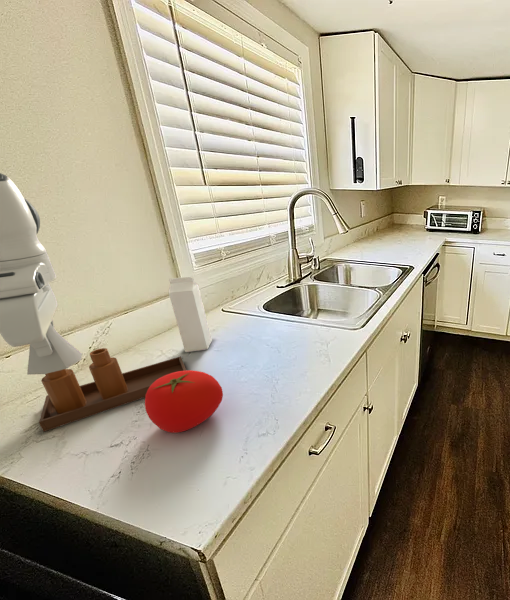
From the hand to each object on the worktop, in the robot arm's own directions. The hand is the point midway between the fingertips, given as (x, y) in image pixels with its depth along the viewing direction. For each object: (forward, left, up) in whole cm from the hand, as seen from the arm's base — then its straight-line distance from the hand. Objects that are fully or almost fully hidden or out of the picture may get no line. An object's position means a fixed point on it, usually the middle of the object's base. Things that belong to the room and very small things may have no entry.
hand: (48, 347), depth 58 cm
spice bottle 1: (-3, +13, -20) cm, 24 cm away
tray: (+6, +13, -20) cm, 25 cm away
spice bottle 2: (+4, +13, -20) cm, 24 cm away
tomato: (+16, -9, -20) cm, 28 cm away
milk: (+24, +27, -20) cm, 42 cm away
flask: (0, 0, -4) cm, 4 cm away
